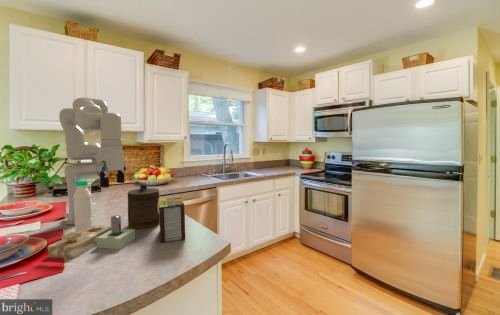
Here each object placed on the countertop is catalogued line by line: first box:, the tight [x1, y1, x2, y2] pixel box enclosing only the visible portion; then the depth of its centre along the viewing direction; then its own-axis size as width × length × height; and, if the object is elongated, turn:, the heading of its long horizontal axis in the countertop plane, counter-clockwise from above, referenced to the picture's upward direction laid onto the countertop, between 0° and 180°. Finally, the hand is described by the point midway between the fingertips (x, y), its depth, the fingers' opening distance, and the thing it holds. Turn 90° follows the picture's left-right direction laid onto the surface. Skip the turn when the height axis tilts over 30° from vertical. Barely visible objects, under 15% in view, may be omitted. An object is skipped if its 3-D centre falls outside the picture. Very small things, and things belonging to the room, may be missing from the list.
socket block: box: [47, 225, 111, 259], centre depth 100 cm, size 10×22×5 cm, turn 173°
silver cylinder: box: [110, 215, 122, 236], centre depth 101 cm, size 4×4×11 cm
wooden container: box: [127, 182, 160, 231], centre depth 124 cm, size 15×15×22 cm
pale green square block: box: [96, 228, 136, 250], centre depth 101 cm, size 10×10×5 cm
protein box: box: [159, 197, 186, 244], centre depth 112 cm, size 10×15×16 cm
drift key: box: [60, 231, 81, 243], centre depth 94 cm, size 4×4×5 cm
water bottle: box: [73, 180, 94, 233], centre depth 114 cm, size 7×7×25 cm
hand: (113, 184), depth 102 cm, fingers open, 9 cm apart
